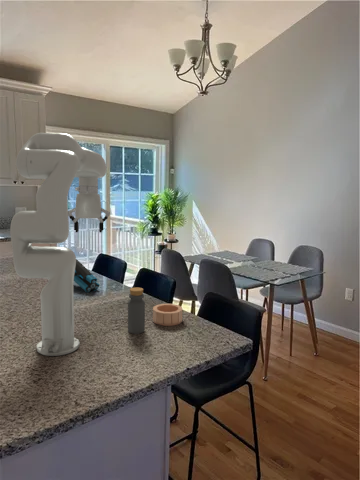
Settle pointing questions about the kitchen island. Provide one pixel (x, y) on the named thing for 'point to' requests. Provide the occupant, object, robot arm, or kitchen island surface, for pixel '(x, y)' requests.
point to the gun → (84, 278)
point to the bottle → (136, 311)
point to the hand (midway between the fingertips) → (88, 232)
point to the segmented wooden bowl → (167, 314)
